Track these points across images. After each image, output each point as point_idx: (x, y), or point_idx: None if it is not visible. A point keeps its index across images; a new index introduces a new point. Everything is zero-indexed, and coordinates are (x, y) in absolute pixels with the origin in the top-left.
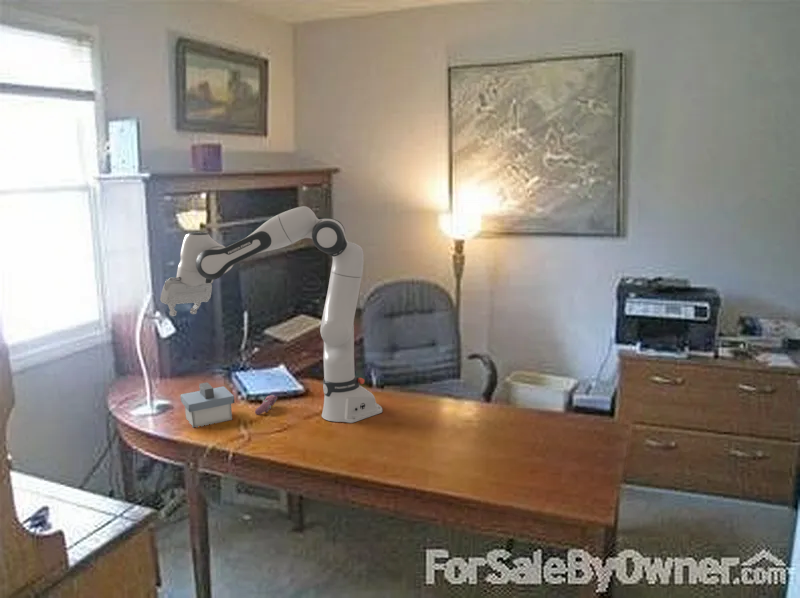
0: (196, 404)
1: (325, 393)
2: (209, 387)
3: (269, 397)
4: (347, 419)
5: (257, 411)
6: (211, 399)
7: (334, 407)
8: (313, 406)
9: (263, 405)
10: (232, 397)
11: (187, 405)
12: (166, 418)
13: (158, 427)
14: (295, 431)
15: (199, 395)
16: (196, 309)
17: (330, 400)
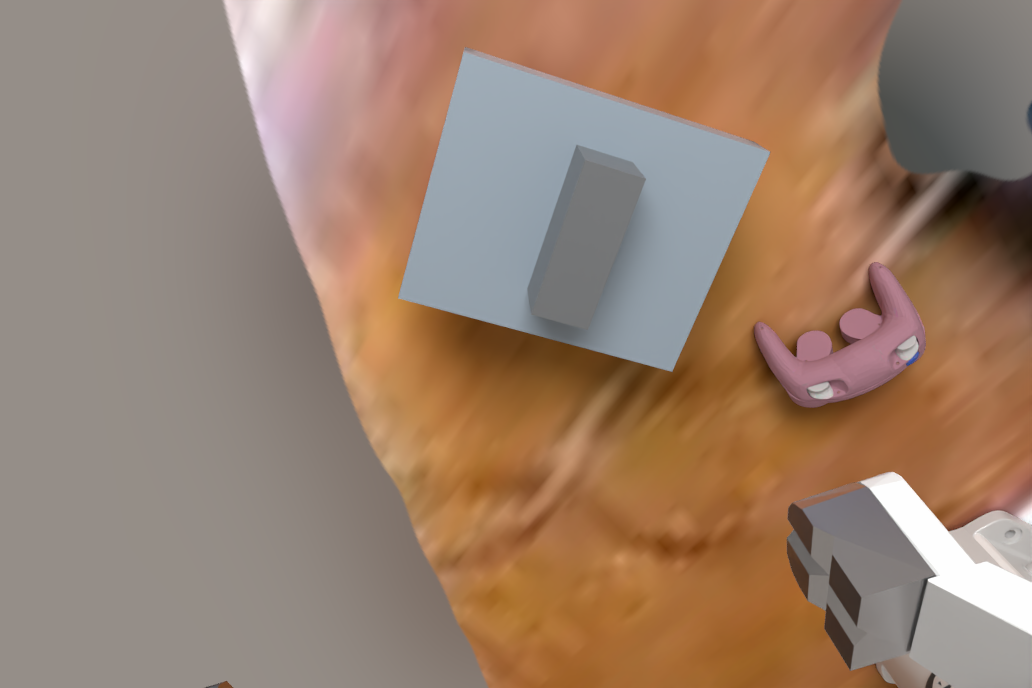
0: (445, 307)
1: (935, 681)
2: (579, 298)
3: (857, 386)
4: (884, 671)
5: (759, 345)
6: (546, 323)
7: (898, 670)
8: (980, 447)
9: (788, 387)
10: (660, 365)
11: (409, 255)
12: None
13: (293, 59)
14: (701, 591)
15: (541, 192)
16: (927, 647)
17: (915, 679)
